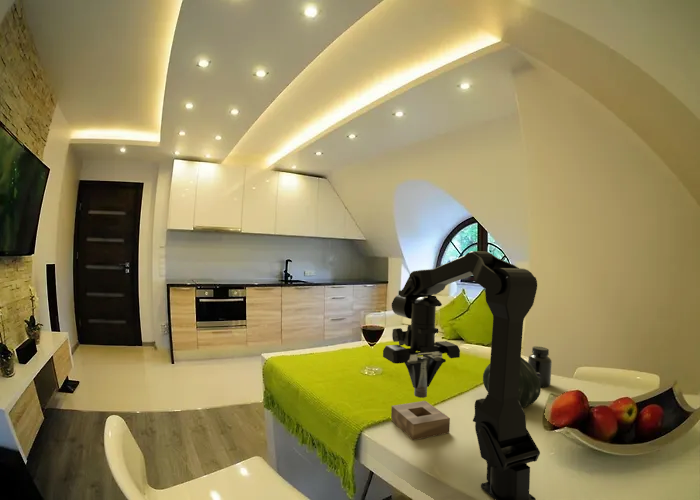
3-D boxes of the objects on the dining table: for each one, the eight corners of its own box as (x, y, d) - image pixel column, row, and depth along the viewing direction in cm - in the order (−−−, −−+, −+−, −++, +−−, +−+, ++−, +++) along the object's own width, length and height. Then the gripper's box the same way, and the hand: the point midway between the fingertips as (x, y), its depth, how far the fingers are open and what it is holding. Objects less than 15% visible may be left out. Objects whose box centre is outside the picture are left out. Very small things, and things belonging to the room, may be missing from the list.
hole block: (449, 432, 83) (449, 417, 83) (412, 440, 79) (413, 424, 79) (424, 414, 92) (425, 400, 92) (391, 419, 88) (391, 405, 88)
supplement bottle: (529, 386, 115) (530, 349, 115) (525, 379, 122) (526, 344, 122) (553, 389, 113) (554, 351, 113) (547, 382, 120) (549, 346, 120)
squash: (499, 369, 115) (489, 339, 107) (550, 384, 104) (542, 352, 97) (483, 407, 107) (470, 378, 100) (536, 427, 97) (526, 396, 89)
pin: (429, 396, 85) (430, 359, 85) (418, 398, 84) (420, 360, 84) (422, 392, 88) (423, 355, 88) (411, 393, 86) (413, 356, 86)
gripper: (435, 315, 97) (433, 372, 97) (373, 318, 90) (371, 379, 89) (462, 323, 86) (460, 387, 86) (395, 327, 79) (393, 396, 79)
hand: (420, 387), depth 86 cm, fingers closed on pin, 3 cm apart
